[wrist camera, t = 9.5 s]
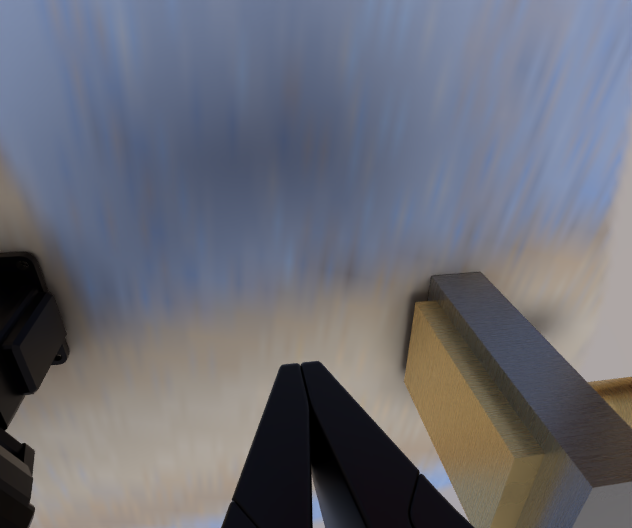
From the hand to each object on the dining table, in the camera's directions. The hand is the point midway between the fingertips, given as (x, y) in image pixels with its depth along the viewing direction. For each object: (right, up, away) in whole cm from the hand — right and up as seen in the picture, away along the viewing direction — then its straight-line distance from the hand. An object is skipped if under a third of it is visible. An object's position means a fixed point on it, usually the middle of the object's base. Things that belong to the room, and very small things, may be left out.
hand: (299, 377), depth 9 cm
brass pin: (+11, -2, +17) cm, 20 cm away
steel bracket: (+8, -2, +18) cm, 20 cm away
